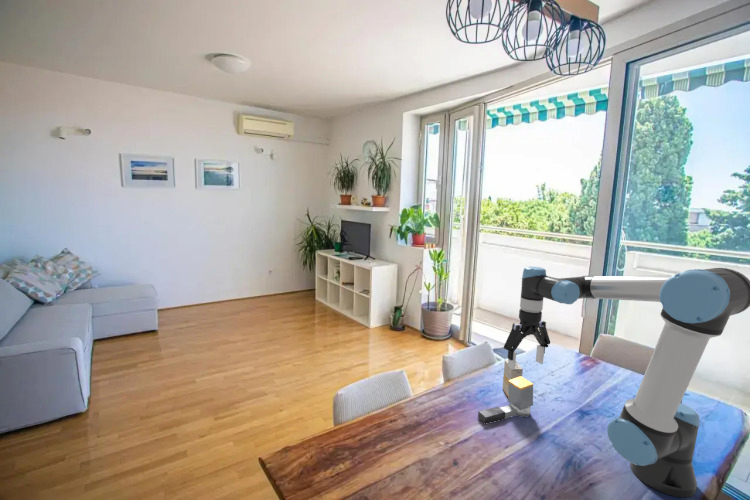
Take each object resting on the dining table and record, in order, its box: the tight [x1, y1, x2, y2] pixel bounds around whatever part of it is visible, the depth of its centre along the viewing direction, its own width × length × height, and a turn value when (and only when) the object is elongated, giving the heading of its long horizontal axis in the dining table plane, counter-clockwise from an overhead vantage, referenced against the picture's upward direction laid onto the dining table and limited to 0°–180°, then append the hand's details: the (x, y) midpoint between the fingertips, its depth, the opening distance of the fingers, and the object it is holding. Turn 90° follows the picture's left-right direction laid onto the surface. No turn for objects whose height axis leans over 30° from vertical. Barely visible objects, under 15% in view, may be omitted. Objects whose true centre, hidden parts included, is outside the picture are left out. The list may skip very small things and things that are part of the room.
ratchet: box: [477, 403, 532, 425], centre depth 133 cm, size 22×7×8 cm, turn 113°
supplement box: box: [502, 359, 524, 399], centre depth 148 cm, size 8×5×13 cm, turn 179°
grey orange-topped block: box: [508, 376, 534, 410], centre depth 135 cm, size 6×6×9 cm
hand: (525, 365), depth 134 cm, fingers open, 13 cm apart
